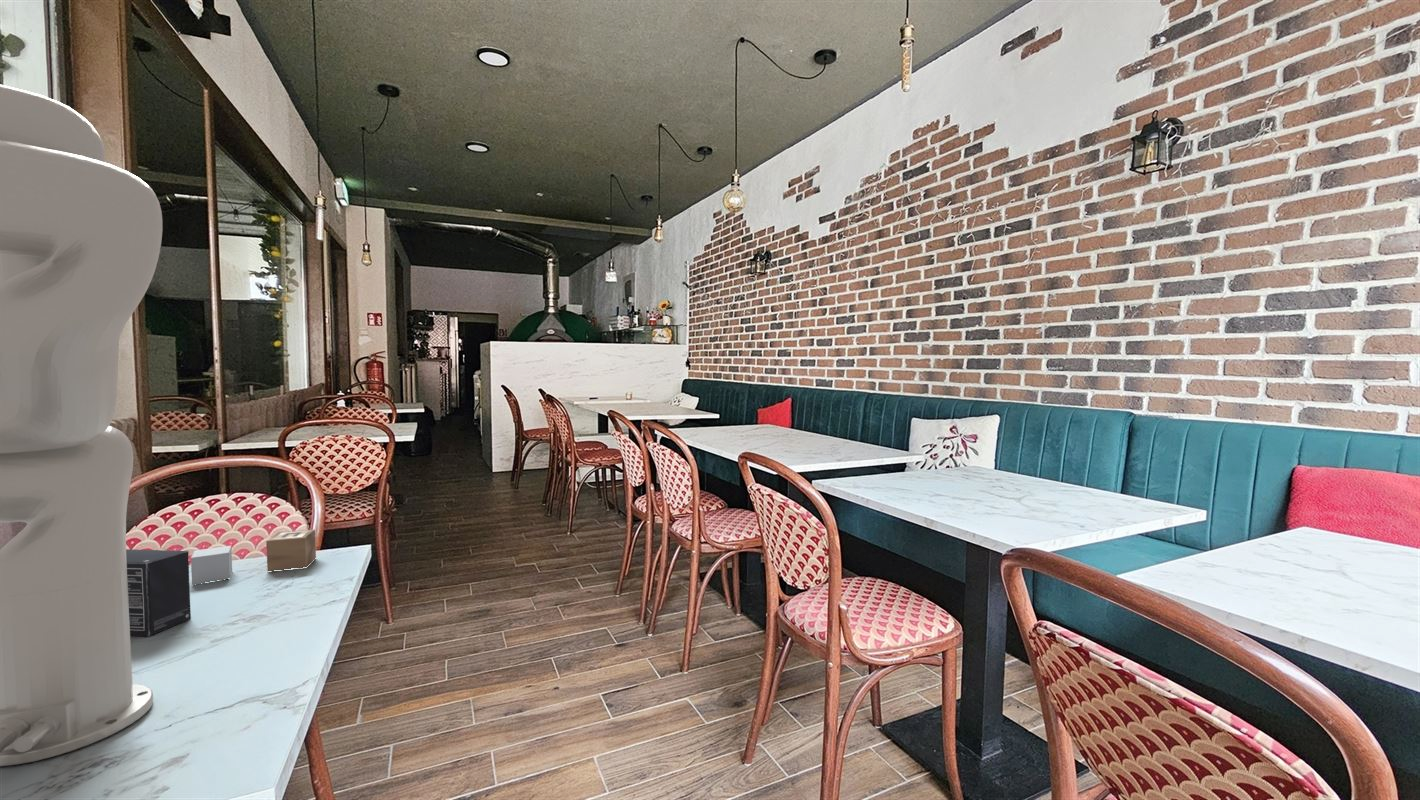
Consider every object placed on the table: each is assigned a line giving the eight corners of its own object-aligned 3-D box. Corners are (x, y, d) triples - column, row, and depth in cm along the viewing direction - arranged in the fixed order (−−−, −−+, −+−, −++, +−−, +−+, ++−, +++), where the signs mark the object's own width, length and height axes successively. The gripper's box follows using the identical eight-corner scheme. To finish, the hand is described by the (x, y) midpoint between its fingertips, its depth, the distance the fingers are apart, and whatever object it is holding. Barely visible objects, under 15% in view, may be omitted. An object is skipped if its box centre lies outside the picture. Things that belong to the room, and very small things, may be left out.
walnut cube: (314, 529, 113) (316, 559, 113) (278, 532, 111) (279, 563, 112) (304, 537, 108) (306, 569, 108) (266, 540, 106) (267, 573, 106)
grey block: (229, 580, 102) (228, 552, 102) (192, 586, 99) (190, 557, 99) (232, 572, 106) (231, 545, 106) (196, 578, 103) (194, 550, 103)
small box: (195, 618, 86) (192, 548, 86) (149, 638, 80) (145, 563, 79) (131, 615, 87) (128, 546, 87) (81, 634, 81) (77, 560, 80)
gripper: (42, 297, 68) (50, 452, 69) (120, 310, 82) (126, 438, 83) (-46, 294, 66) (-36, 455, 67) (50, 308, 80) (57, 440, 81)
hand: (54, 445), depth 75 cm, fingers closed
